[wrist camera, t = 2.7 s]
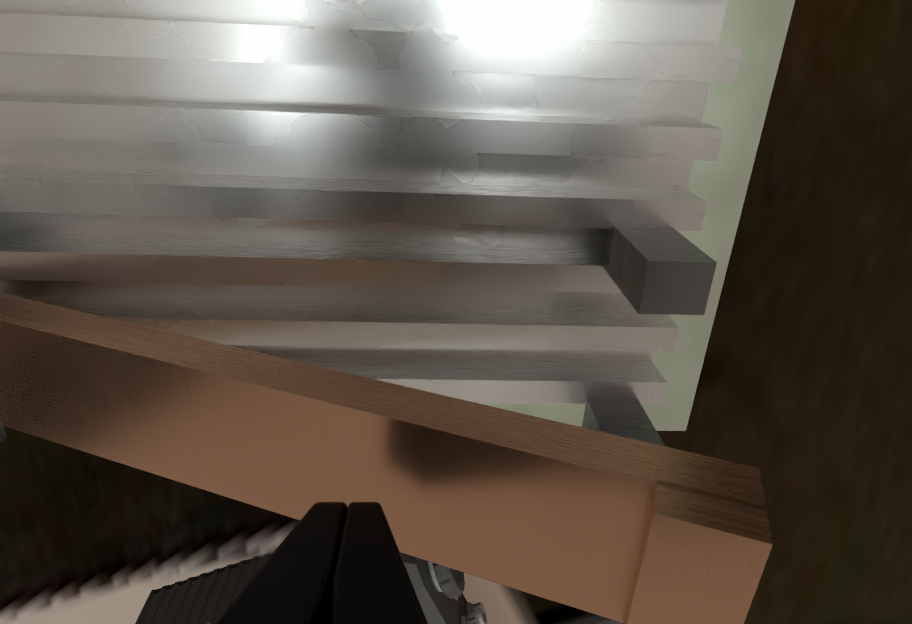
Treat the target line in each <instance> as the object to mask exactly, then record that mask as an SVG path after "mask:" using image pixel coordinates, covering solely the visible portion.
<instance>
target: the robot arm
mask: <svg viewBox="0 0 912 624" xmlns="http://www.w3.org/2000/svg"><path fill="white" fill-rule="evenodd" d="M215 624H428V622H427V619H426V617H425V614H424V612H423V609H422V607H421V604H420V602H419V599H418V597H417V594H416V592H415V589H414V587H413V584H412V582H411V579H410V577H409V574H408V572H407V569H406V566H405V564H404V561H403V559H402V556H401V554H400V551H399V549H398V546H397V544H396V541H395V539H394V536H393V534H392V531H391V529H390V526H389V524H388V521H387V519H386V516H385V514H384V511H383V509H382V506H381V505H380V504H379V503H378V502H351V503H350V504H349V505H348V506H347V505H346V503H344V502H317V503H315V504H314V505H313V506H312V507H311V508H310V509H309V511H308V512H307V513H306V514H305V515H304V517H303V518H302V519H301V520H300V521H299V523H298V524H297V525H296V526H295V527H294V529H293V530H292V531H291V532H290V533H289V535H288V536H287V537H286V538H285V539H284V541H283V542H282V543H281V544H280V546H279V547H278V548H277V549H276V550H275V552H274V553H273V554H272V555H271V556H270V558H269V559H268V560H267V561H266V562H265V564H264V565H263V566H262V567H261V568H260V570H259V571H258V572H257V573H256V574H255V576H254V577H253V578H252V579H251V581H250V582H249V583H248V584H247V585H246V587H245V588H244V589H243V590H242V591H241V593H240V594H239V595H238V596H237V597H236V599H235V600H234V601H233V602H232V603H231V605H230V606H229V607H228V608H227V609H226V611H225V612H224V613H223V614H222V615H221V617H220V618H219V619H218V620H217V622H216V623H215Z"/></svg>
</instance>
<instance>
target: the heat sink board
mask: <svg viewBox="0 0 912 624" xmlns="http://www.w3.org/2000/svg"><path fill="white" fill-rule="evenodd" d="M794 3H795V0H0V293H4V294H8V295H12V296H17V297H21V298H25V299H30V300H34V301H38V302H43V303H47V304H51V305H56V306H60V307H64V308H69V309H73V310H77V311H82V312H86V313H90V314H95V315H99V316H103V317H108V318H112V319H116V320H121V321H125V322H129V323H133V324H138V325H142V326H146V327H151V328H155V329H159V330H164V331H168V332H172V333H177V334H181V335H185V336H190V337H194V338H198V339H203V340H207V341H211V342H216V343H220V344H224V345H229V346H233V347H237V348H241V349H246V350H250V351H254V352H259V353H263V354H267V355H272V356H276V357H280V358H285V359H289V360H293V361H298V362H302V363H306V364H311V365H315V366H319V367H324V368H328V369H332V370H337V371H341V372H345V373H350V374H354V375H358V376H362V377H367V378H371V379H375V380H380V381H384V382H388V383H393V384H397V385H401V386H406V387H410V388H414V389H419V390H423V391H427V392H432V393H436V394H440V395H445V396H449V397H453V398H458V399H462V400H466V401H471V402H475V403H479V404H483V405H488V406H492V407H496V408H501V409H505V410H509V411H514V412H518V413H522V414H527V415H531V416H535V417H540V418H544V419H548V420H553V421H557V422H561V423H566V424H570V425H574V426H579V427H583V428H587V429H591V430H596V431H600V432H604V433H609V434H613V435H617V436H622V437H626V438H630V439H635V440H639V441H643V442H648V443H652V444H656V445H661V446H665V445H664V443H663V441H662V440H661V438H660V436H659V435H658V433H657V431H686V428H687V424H688V420H689V416H690V412H691V408H692V404H693V400H694V396H695V392H696V388H697V385H698V381H699V377H700V373H701V369H702V365H703V361H704V357H705V353H706V349H707V345H708V341H709V337H710V333H711V329H712V326H713V322H714V318H715V314H716V310H717V306H718V302H719V298H720V294H721V290H722V286H723V282H724V278H725V274H726V270H727V266H728V263H729V259H730V255H731V251H732V247H733V243H734V239H735V235H736V231H737V227H738V223H739V219H740V215H741V211H742V207H743V203H744V200H745V196H746V192H747V188H748V184H749V180H750V176H751V172H752V168H753V164H754V160H755V156H756V152H757V148H758V144H759V141H760V137H761V133H762V129H763V125H764V121H765V117H766V113H767V109H768V105H769V101H770V97H771V93H772V89H773V85H774V81H775V78H776V74H777V70H778V66H779V62H780V58H781V54H782V50H783V46H784V42H785V38H786V34H787V30H788V26H789V22H790V19H791V15H792V11H793V7H794ZM6 438H7V435H6V433H5V430H4V427H3V426H2V425H0V444H1V443H2V442H3V441H4V440H5V439H6Z"/></svg>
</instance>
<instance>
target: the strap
mask: <svg viewBox="0 0 912 624" xmlns="http://www.w3.org/2000/svg"><path fill="white" fill-rule="evenodd" d="M0 425H2V426H5V427H8V428H12V429H15V430H18V431H21V432H24V433H27V434H30V435H34V436H37V437H40V438H43V439H46V440H49V441H52V442H56V443H59V444H62V445H65V446H68V447H71V448H74V449H78V450H81V451H84V452H87V453H90V454H93V455H96V456H100V457H103V458H106V459H109V460H112V461H115V462H118V463H122V464H125V465H128V466H131V467H134V468H137V469H140V470H144V471H147V472H150V473H153V474H156V475H159V476H162V477H166V478H169V479H172V480H175V481H178V482H181V483H184V484H188V485H191V486H194V487H197V488H200V489H203V490H206V491H210V492H213V493H216V494H219V495H222V496H225V497H228V498H232V499H235V500H238V501H241V502H244V503H247V504H250V505H254V506H257V507H260V508H263V509H266V510H269V511H272V512H276V513H279V514H282V515H285V516H288V517H291V518H294V519H298V520H301V519H302V518H303V517H304V515H305V514H306V513H307V512H308V511H309V509H310V508H311V507H312V506H313V505H314V504H315V503H317V502H344V503H346V505H347V506H348V505H349V504H350V503H351V502H378V503H379V504H380V505H381V506H382V509H383V511H384V514H385V516H386V519H387V521H388V524H389V526H390V529H391V531H392V534H393V536H394V539H395V541H396V544H397V546H398V549H399V551H400V552H401V553H404V554H408V555H411V556H414V557H417V558H420V559H423V560H426V561H430V562H433V563H436V564H439V565H442V566H445V567H448V568H452V569H455V570H458V571H461V572H464V573H467V574H471V575H474V576H477V577H480V578H483V579H486V580H489V581H493V582H496V583H499V584H502V585H505V586H508V587H511V588H514V589H518V590H521V591H524V592H527V593H530V594H533V595H536V596H540V597H543V598H546V599H549V600H552V601H555V602H558V603H562V604H565V605H568V606H571V607H574V608H577V609H580V610H584V611H587V612H590V613H593V614H596V615H599V616H602V617H606V618H609V619H612V620H615V621H618V622H621V623H623V624H744V621H745V618H746V616H747V613H748V610H749V608H750V605H751V602H752V599H753V597H754V594H755V591H756V589H757V586H758V583H759V580H760V578H761V575H762V572H763V569H764V567H765V564H766V561H767V559H768V556H769V553H770V550H771V548H772V545H773V544H772V538H771V533H770V527H769V521H768V516H767V510H766V505H765V499H764V494H763V488H762V483H761V477H760V471H759V468H756V467H751V466H747V465H743V464H738V463H734V462H730V461H725V460H721V459H717V458H712V457H708V456H704V455H700V454H695V453H691V452H687V451H682V450H678V449H674V448H669V447H665V446H661V445H656V444H652V443H648V442H643V441H639V440H635V439H630V438H626V437H622V436H617V435H613V434H609V433H604V432H600V431H596V430H591V429H587V428H583V427H579V426H574V425H570V424H566V423H561V422H557V421H553V420H548V419H544V418H540V417H535V416H531V415H527V414H522V413H518V412H514V411H509V410H505V409H501V408H496V407H492V406H488V405H483V404H479V403H475V402H471V401H466V400H462V399H458V398H453V397H449V396H445V395H440V394H436V393H432V392H427V391H423V390H419V389H414V388H410V387H406V386H401V385H397V384H393V383H388V382H384V381H380V380H375V379H371V378H367V377H362V376H358V375H354V374H350V373H345V372H341V371H337V370H332V369H328V368H324V367H319V366H315V365H311V364H306V363H302V362H298V361H293V360H289V359H285V358H280V357H276V356H272V355H267V354H263V353H259V352H254V351H250V350H246V349H241V348H237V347H233V346H229V345H224V344H220V343H216V342H211V341H207V340H203V339H198V338H194V337H190V336H185V335H181V334H177V333H172V332H168V331H164V330H159V329H155V328H151V327H146V326H142V325H138V324H133V323H129V322H125V321H121V320H116V319H112V318H108V317H103V316H99V315H95V314H90V313H86V312H82V311H77V310H73V309H69V308H64V307H60V306H56V305H51V304H47V303H43V302H38V301H34V300H30V299H25V298H21V297H17V296H12V295H8V294H4V293H0Z"/></svg>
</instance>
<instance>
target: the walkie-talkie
mask: <svg viewBox="0 0 912 624" xmlns="http://www.w3.org/2000/svg"><path fill="white" fill-rule="evenodd" d="M400 554H401V556H402V559H403V561H404V564H405V566H406V569H407V572H408V574H409V577H410V579H411V582H412V584H413V587H414V589H415V592H416V594H417V597H418V599H419V602H420V604H421V607H422V609H423V612H424V614H425V617H426V619H427V622H428V624H487V618H486V613H485V610H484V607H483V605H482V603H477V604H472V603H468V602H467V601H466V599H465V597H464V595H463V593H462V592H463V590H464V584H465V583H464V572H461V571H458V570H455V569H452V568H448V567H445V566H442V565H439V564H436V563H433V562H430V561H426V560H423V559H420V558H417V557H414V556H411V555H408V554H404V553H401V552H400ZM270 556H271V555H270V554H268V555H265V556H260V557H253V558H251V559H247V560H242V561H240V562H239V563H235V564H229V565H227V566H226V567H223V568H217V569H214V570H213V571H211V572H208V573H202V574H201V575H199V576H196V577H190V578H188V579H187V580H184V581H178V582H175V583H174V584H171V585H166V586H163V587H162V588H159V589H156V590H155V589H154V590H152V591H151V593H150V595H149V597H148V599H147V601H146V603H145V605H144V607H143V609H142V611H141V613H140V615H139V617H138V619H137V622H136V623H135V624H215V623H216V622H217V620H218V619H219V618H220V617H221V615H222V614H223V613H224V612H225V611H226V609H227V608H228V607H229V606H230V605H231V603H232V602H233V601H234V600H235V599H236V597H237V596H238V595H239V594H240V593H241V591H242V590H243V589H244V588H245V587H246V585H247V584H248V583H249V582H250V581H251V579H252V578H253V577H254V576H255V574H256V573H257V572H258V571H259V570H260V568H261V567H262V566H263V565H264V564H265V562H266V561H267V560H268V559H269V558H270ZM553 624H623V623H621V622H618V621H615V620H612V619H609V618H606V617H602V616H599V615H596V614H593V613H587V614H584V615H581V616H577V617H574V618H570V619H567V620H564V621H560V622H557V623H553Z"/></svg>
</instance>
